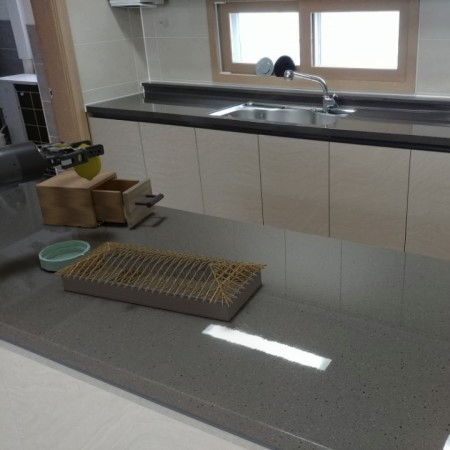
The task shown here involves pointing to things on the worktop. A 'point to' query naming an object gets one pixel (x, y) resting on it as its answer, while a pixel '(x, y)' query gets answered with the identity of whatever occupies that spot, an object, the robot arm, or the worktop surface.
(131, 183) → the drawer
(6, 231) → the worktop surface
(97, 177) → the cabinet
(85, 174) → the lemon
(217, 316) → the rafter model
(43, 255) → the bowl
